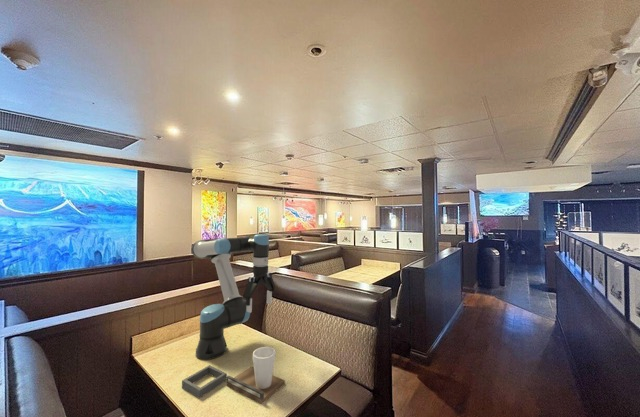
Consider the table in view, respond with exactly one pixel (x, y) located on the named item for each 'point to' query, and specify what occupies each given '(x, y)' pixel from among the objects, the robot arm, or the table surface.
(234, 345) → the table surface
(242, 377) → the shelf board
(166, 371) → the table surface
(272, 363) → the foam cup
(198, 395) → the frame
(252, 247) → the robot arm
